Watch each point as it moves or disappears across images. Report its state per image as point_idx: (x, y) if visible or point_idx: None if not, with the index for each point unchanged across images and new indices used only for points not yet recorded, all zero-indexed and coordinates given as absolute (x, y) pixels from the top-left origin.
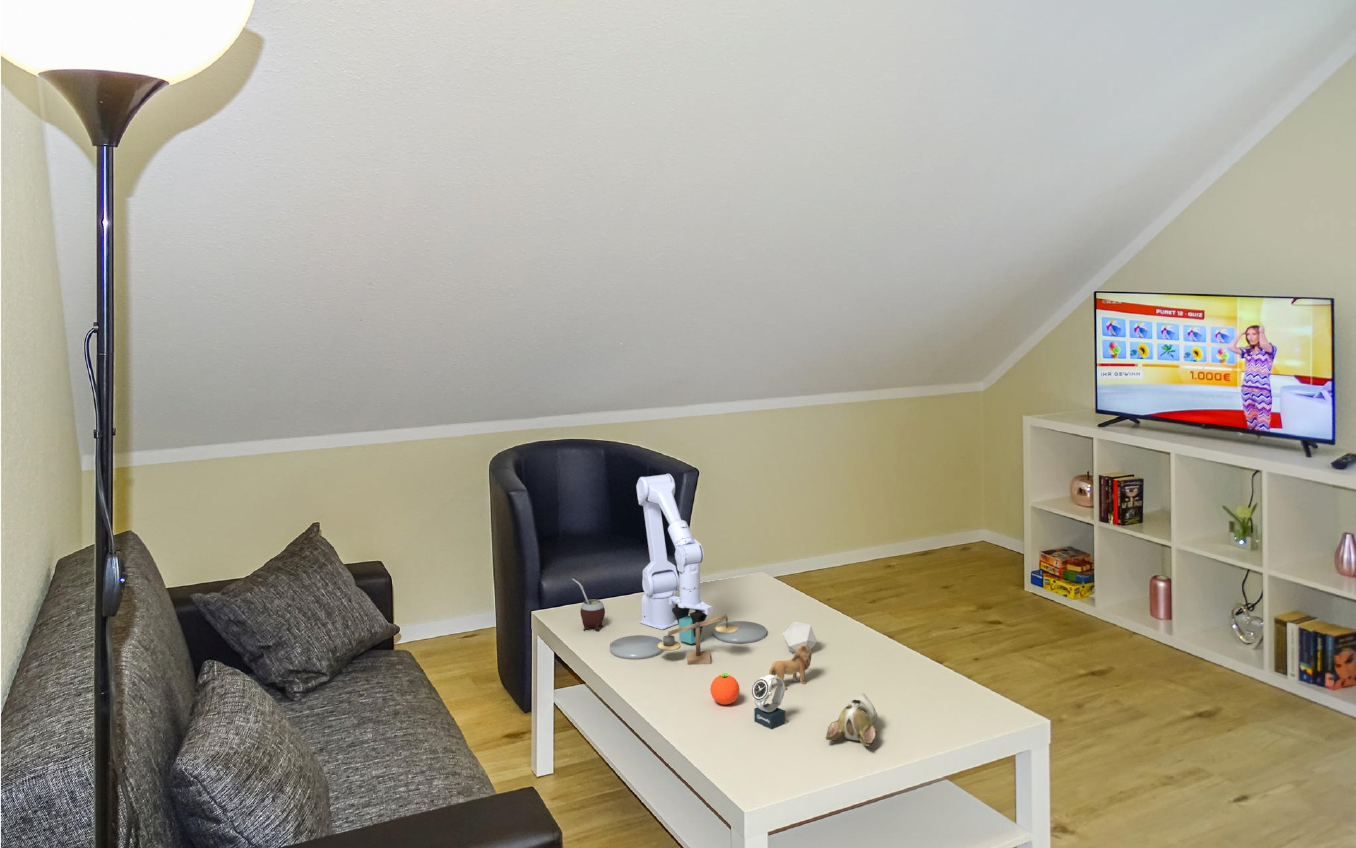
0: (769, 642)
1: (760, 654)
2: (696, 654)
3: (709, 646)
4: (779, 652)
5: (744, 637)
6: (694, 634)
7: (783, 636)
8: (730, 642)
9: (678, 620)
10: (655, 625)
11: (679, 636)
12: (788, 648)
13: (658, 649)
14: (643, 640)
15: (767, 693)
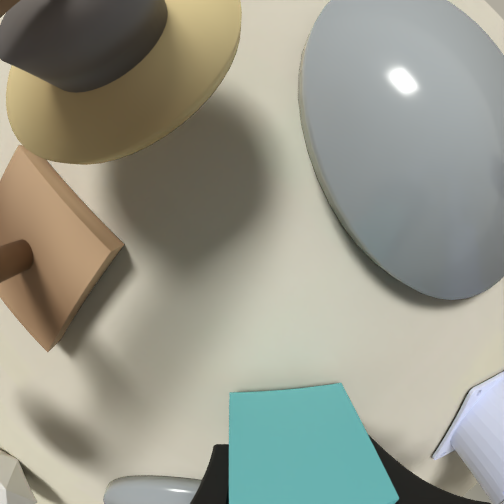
0: (87, 495)
1: (12, 425)
2: (15, 241)
3: (165, 429)
4: (15, 448)
5: (123, 502)
6: (221, 455)
7: (2, 482)
8: (142, 477)
9: (406, 484)
10: (496, 384)
11: (347, 399)
12: (7, 459)
13: (329, 127)
14: (490, 209)
15: None
